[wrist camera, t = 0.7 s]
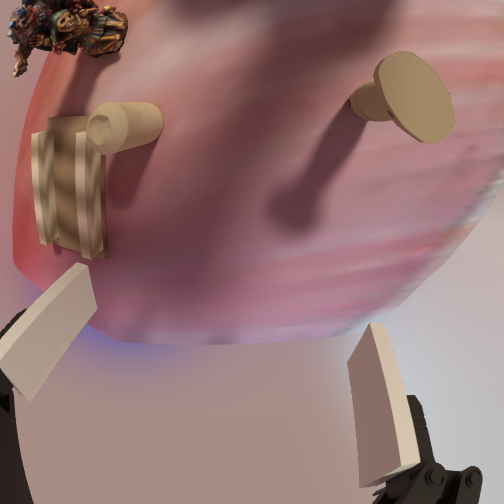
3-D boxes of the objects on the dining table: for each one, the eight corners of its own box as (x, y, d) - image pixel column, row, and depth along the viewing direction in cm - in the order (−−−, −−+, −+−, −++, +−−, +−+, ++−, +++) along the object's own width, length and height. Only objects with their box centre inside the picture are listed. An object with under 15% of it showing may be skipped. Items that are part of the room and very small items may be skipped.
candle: (165, 141, 30) (122, 153, 22) (129, 146, 31) (80, 161, 22) (163, 99, 28) (118, 96, 19) (125, 107, 28) (75, 110, 20)
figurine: (145, 56, 25) (37, 24, 9) (92, 82, 27) (-14, 81, 11) (139, -3, 21) (52, -49, 4) (88, 25, 23) (-3, 5, 6)
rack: (53, 117, 29) (32, 121, 25) (108, 114, 29) (87, 117, 25) (58, 241, 40) (42, 253, 36) (108, 256, 39) (92, 271, 35)
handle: (362, 137, 27) (420, 155, 14) (327, 93, 26) (363, 72, 12) (392, 116, 26) (464, 121, 12) (358, 71, 24) (413, 40, 11)
